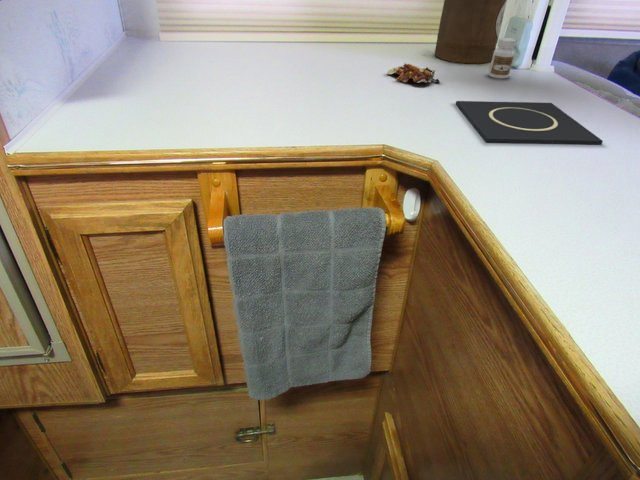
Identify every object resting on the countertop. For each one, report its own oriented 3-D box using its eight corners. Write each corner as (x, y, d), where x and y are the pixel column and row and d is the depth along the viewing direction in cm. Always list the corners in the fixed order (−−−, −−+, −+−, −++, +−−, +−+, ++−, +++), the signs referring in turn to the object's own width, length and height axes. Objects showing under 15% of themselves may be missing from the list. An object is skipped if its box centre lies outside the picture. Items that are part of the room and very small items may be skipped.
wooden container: (504, 62, 106) (532, -43, 93) (450, 65, 103) (471, -43, 90) (474, 49, 118) (494, -46, 105) (424, 51, 115) (440, -47, 102)
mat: (550, 105, 80) (551, 101, 80) (601, 144, 65) (603, 139, 65) (455, 104, 80) (456, 99, 79) (486, 142, 65) (487, 137, 65)
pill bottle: (489, 78, 95) (499, 40, 90) (486, 73, 98) (495, 36, 94) (510, 79, 94) (520, 41, 90) (506, 74, 98) (516, 37, 93)
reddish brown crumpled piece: (398, 70, 98) (400, 54, 96) (441, 82, 91) (444, 65, 89) (378, 76, 94) (379, 58, 92) (421, 88, 87) (424, 70, 85)
